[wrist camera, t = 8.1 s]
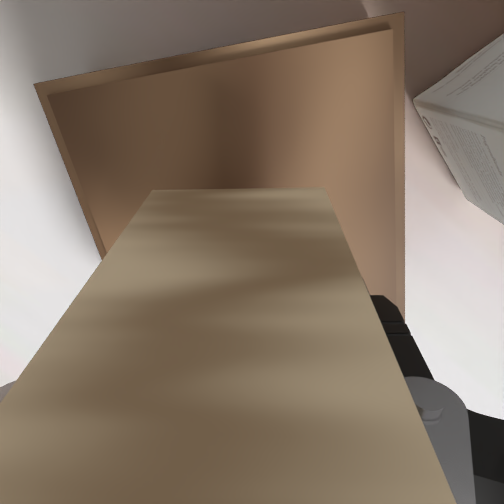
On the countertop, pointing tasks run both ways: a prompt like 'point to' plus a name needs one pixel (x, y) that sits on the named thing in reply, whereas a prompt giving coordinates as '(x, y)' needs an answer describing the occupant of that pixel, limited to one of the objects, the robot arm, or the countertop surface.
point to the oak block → (219, 369)
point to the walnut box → (250, 132)
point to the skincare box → (471, 125)
